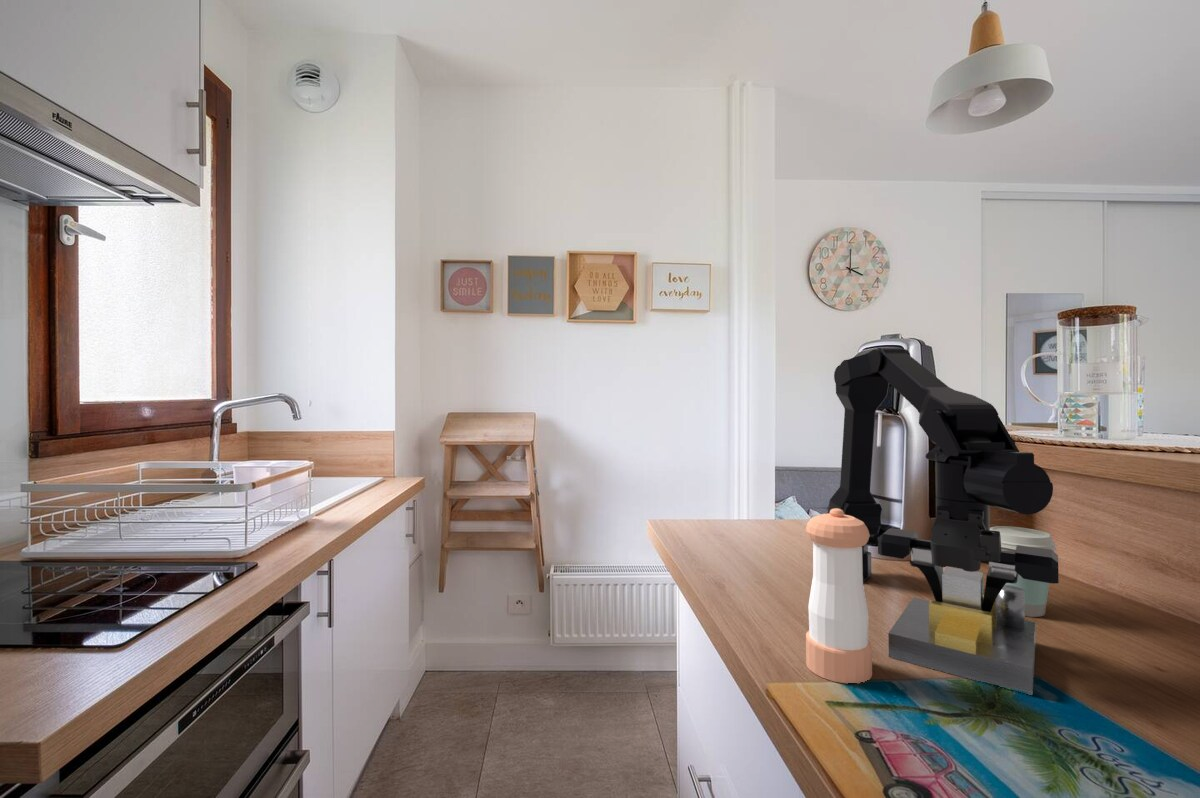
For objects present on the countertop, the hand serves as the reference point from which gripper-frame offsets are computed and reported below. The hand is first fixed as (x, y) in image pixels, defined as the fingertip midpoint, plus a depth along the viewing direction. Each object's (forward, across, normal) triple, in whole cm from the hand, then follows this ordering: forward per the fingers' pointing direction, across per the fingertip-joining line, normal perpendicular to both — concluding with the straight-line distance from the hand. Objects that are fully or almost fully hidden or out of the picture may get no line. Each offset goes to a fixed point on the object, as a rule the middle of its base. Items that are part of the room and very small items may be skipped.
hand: (963, 619), depth 68 cm
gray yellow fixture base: (+4, 0, 0) cm, 4 cm away
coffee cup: (+4, +5, +22) cm, 23 cm away
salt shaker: (+4, -11, -15) cm, 19 cm away
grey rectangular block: (+2, 0, 0) cm, 2 cm away
